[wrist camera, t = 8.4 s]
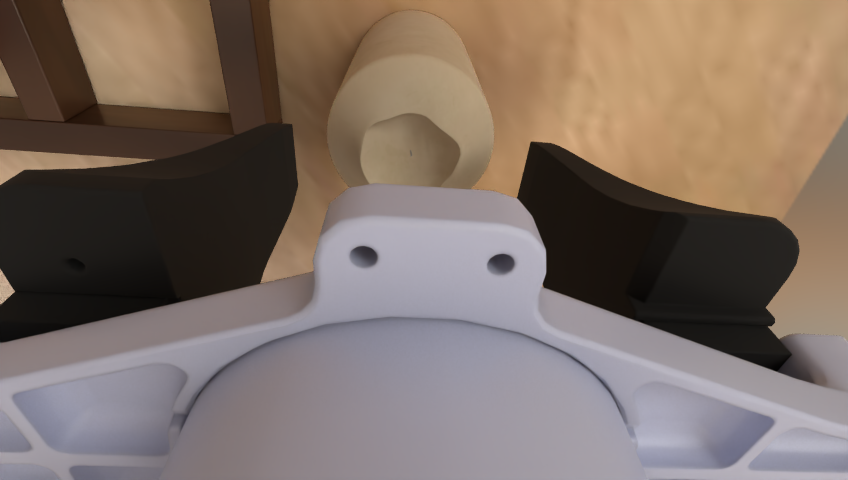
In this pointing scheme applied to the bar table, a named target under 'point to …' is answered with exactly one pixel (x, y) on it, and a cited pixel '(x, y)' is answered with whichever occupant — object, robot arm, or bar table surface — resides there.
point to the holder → (122, 125)
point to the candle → (411, 108)
